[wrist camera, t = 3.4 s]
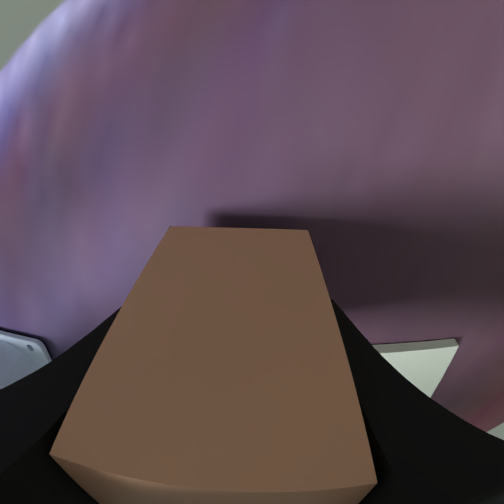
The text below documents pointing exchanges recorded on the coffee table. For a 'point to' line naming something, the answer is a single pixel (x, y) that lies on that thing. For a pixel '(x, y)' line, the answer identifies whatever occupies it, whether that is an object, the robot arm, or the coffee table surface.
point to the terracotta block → (221, 382)
